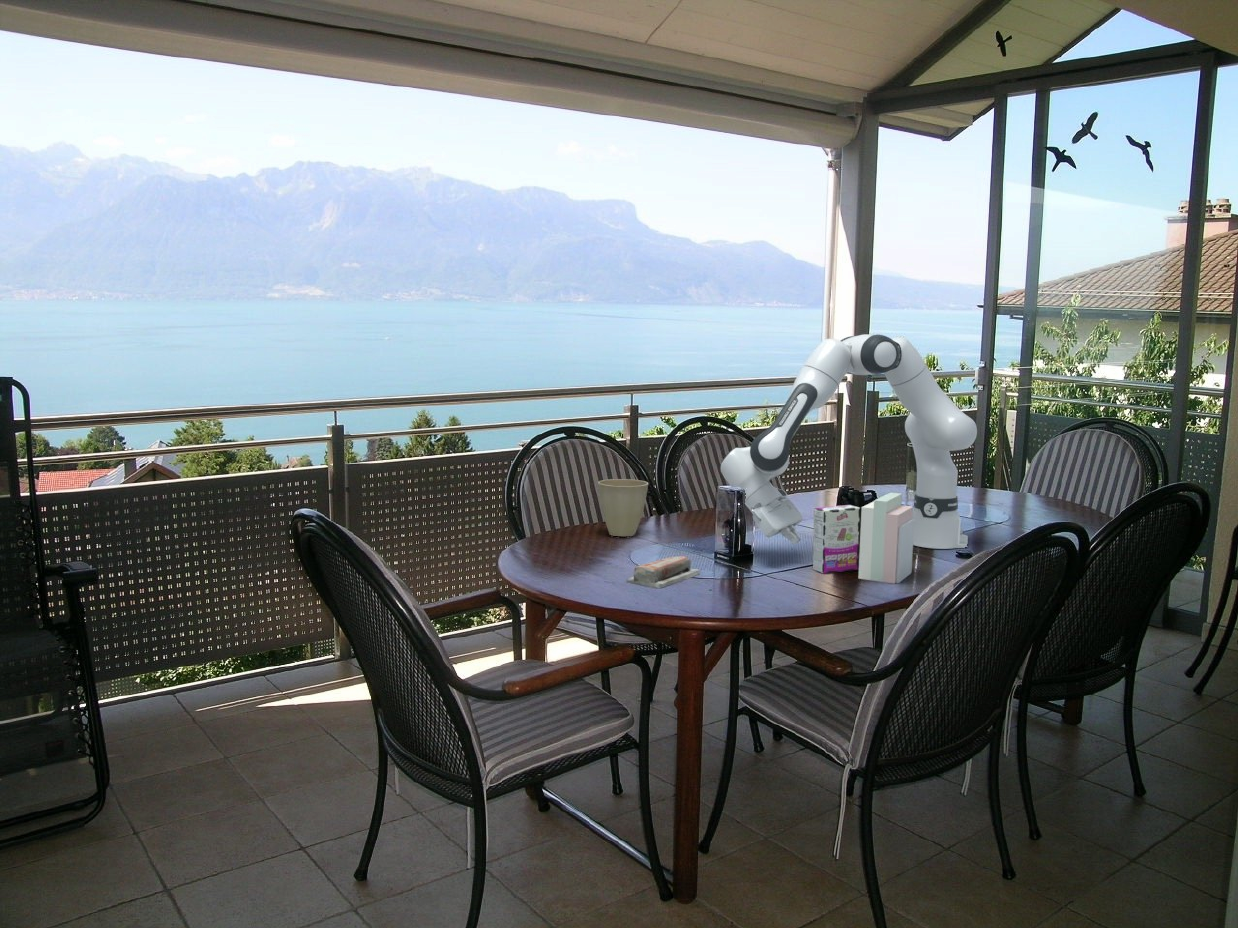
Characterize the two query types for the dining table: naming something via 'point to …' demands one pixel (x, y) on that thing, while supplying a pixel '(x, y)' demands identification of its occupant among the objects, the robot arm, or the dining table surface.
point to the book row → (886, 540)
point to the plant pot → (622, 504)
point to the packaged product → (663, 572)
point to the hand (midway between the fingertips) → (797, 542)
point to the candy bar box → (836, 539)
